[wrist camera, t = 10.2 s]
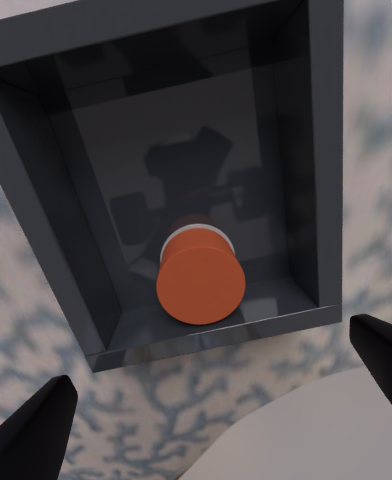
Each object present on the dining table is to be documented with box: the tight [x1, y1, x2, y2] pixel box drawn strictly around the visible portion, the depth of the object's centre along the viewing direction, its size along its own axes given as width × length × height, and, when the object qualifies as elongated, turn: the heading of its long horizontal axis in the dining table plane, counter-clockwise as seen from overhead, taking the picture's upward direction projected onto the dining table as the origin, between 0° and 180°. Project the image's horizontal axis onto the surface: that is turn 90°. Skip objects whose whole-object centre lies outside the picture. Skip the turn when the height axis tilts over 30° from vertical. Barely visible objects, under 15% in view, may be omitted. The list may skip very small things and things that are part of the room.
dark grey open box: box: [0, 0, 344, 373], centre depth 12 cm, size 15×14×4 cm
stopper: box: [156, 228, 245, 325], centre depth 13 cm, size 4×4×3 cm
